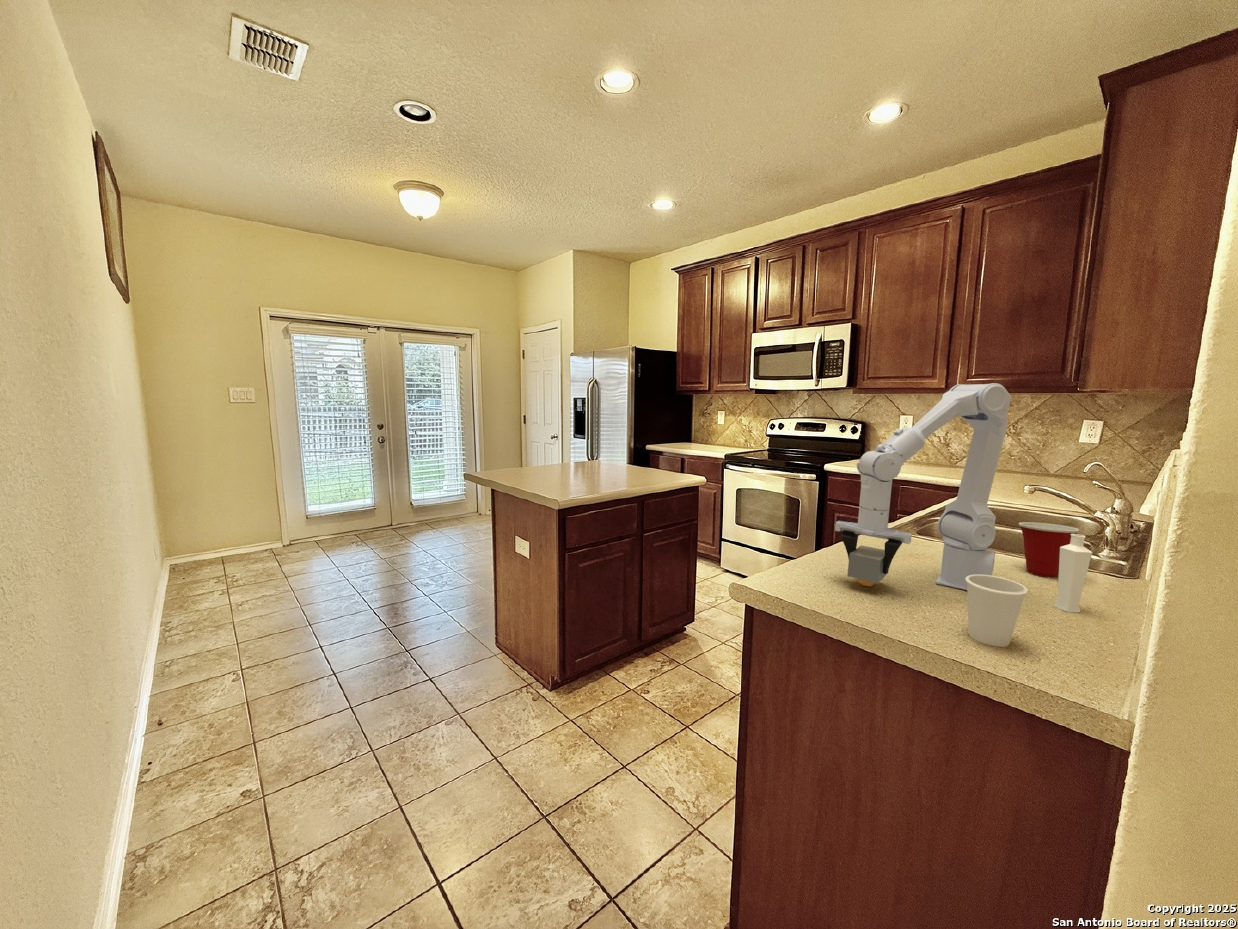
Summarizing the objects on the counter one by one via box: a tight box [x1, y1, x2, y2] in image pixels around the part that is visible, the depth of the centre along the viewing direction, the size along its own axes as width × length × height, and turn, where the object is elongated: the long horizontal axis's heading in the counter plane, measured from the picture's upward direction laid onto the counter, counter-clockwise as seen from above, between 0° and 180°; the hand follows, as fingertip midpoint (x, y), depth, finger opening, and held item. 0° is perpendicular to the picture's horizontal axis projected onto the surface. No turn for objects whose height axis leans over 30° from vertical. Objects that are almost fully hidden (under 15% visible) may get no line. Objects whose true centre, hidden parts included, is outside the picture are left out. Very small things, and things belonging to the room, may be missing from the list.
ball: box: [857, 579, 876, 587], centre depth 106 cm, size 4×4×4 cm
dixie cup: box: [966, 574, 1029, 648], centre depth 83 cm, size 8×8×10 cm
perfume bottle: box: [1053, 533, 1093, 613], centre depth 95 cm, size 5×4×15 cm
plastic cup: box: [1018, 521, 1080, 578], centre depth 115 cm, size 11×11×12 cm
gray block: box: [847, 544, 889, 584], centre depth 106 cm, size 6×9×5 cm, turn 139°
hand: (868, 568), depth 106 cm, fingers closed on gray block, 6 cm apart
